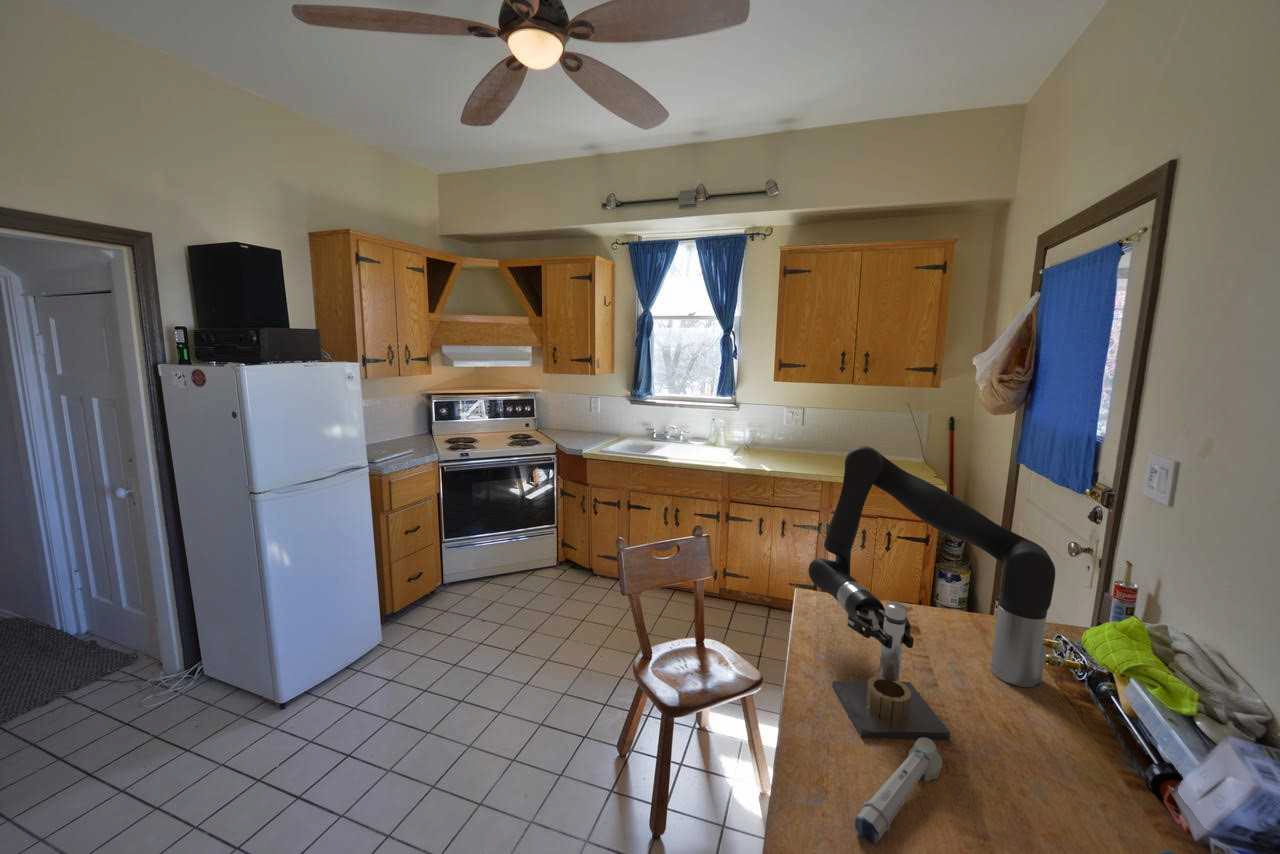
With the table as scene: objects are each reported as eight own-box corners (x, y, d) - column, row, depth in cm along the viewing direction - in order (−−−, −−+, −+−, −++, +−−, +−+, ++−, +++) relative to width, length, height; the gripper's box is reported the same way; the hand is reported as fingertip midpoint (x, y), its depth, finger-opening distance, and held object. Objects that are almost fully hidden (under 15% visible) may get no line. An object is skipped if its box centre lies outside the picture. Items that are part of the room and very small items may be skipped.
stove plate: (908, 687, 120) (911, 666, 119) (949, 739, 104) (952, 714, 103) (832, 686, 120) (833, 665, 119) (861, 738, 104) (863, 713, 103)
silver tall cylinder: (893, 669, 113) (901, 601, 110) (903, 681, 109) (910, 611, 106) (875, 668, 113) (882, 601, 110) (883, 681, 109) (891, 611, 106)
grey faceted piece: (850, 809, 84) (918, 722, 98) (850, 840, 85) (917, 750, 100) (882, 832, 80) (948, 738, 94) (881, 865, 81) (946, 768, 96)
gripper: (832, 589, 122) (869, 628, 105) (888, 588, 123) (935, 626, 106) (829, 618, 123) (866, 662, 106) (886, 616, 124) (931, 659, 108)
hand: (900, 644), depth 106 cm, fingers closed on silver tall cylinder, 4 cm apart
